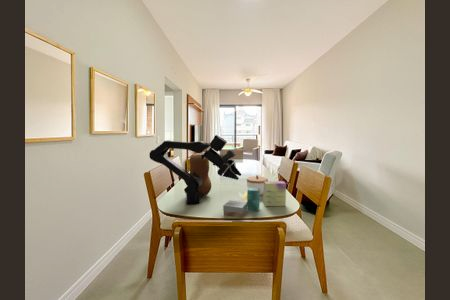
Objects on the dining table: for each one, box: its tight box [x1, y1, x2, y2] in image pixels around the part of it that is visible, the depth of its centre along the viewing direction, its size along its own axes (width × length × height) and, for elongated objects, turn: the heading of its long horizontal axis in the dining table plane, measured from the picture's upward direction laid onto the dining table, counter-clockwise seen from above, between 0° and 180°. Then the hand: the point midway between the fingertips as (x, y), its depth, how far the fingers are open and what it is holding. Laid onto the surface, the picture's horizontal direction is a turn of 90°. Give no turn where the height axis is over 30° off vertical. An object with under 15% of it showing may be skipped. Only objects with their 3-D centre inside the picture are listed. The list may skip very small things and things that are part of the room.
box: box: [263, 180, 287, 207], centre depth 120 cm, size 10×6×12 cm, turn 92°
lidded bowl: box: [246, 175, 269, 196], centre depth 140 cm, size 13×13×11 cm
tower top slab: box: [222, 199, 247, 213], centre depth 109 cm, size 9×9×2 cm
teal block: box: [246, 188, 261, 212], centre depth 114 cm, size 5×5×10 cm
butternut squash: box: [189, 153, 212, 198], centre depth 135 cm, size 14×13×25 cm
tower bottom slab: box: [223, 208, 248, 218], centre depth 109 cm, size 9×9×2 cm
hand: (239, 177), depth 118 cm, fingers open, 9 cm apart
